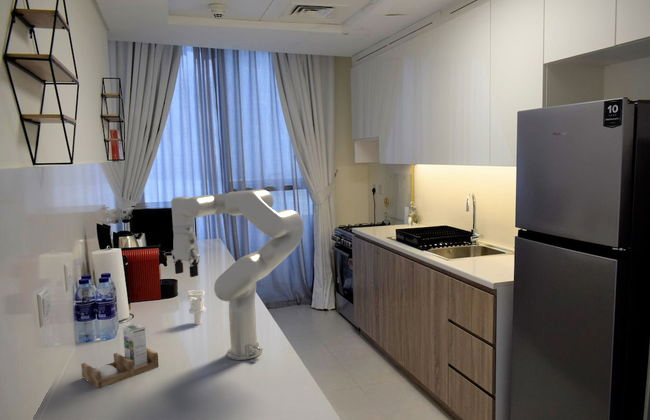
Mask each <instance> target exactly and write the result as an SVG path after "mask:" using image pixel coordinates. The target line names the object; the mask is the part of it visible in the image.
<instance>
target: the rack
mask: <svg viewBox="0 0 650 420" xmlns="http://www.w3.org/2000/svg"><path fill="white" fill-rule="evenodd" d="M146 349H147V364H145V365H142V366H140V367H137V368H134V366H133V361H132V360H130V359H128V358H126V357H125V355H122V354H120V353H118V352H116V353H113V362H109V363H106V365H111V366H113V367H115V368H116V369H117V371H118V370H119V371H120V373H118V374H117V375H114V376H111V377H108V378H105V379H102V380H101V372H99V371H98V370H96V368H97V367H95V368H94V367H93V366H90V365H88V364H87V363H86V362H83V363H81V374H82V375H81V376H82V378H83V377H84V378H85V379H86V380H88V381H89V382H90V383H89V382H88V381H87V382H88V383H89V384H91V383H92V384H91V385H92V386H94V387H96V388H97V389H100V388H103V387H106V386H109V385H113V384H114V383H117V382H120V381H123V380H126V379H128V378H132V377H133V376H137V375H139V374H140V375H141V374H143V373H145V372H148V371H150V370H153V369H157V368H159V366H160V365H159V353H158V352H157V351H155V350H152V349H150V348H148V347H146ZM86 380H85V381H86Z"/></svg>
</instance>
